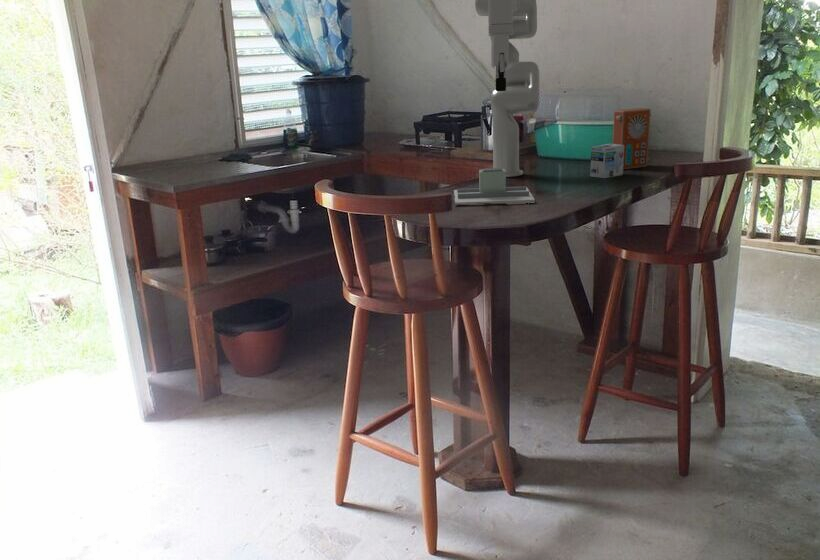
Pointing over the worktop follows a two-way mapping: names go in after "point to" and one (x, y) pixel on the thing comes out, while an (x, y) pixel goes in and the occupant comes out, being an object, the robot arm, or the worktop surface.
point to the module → (492, 180)
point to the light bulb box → (607, 160)
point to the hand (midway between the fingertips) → (500, 90)
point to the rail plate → (494, 196)
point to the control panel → (632, 135)
